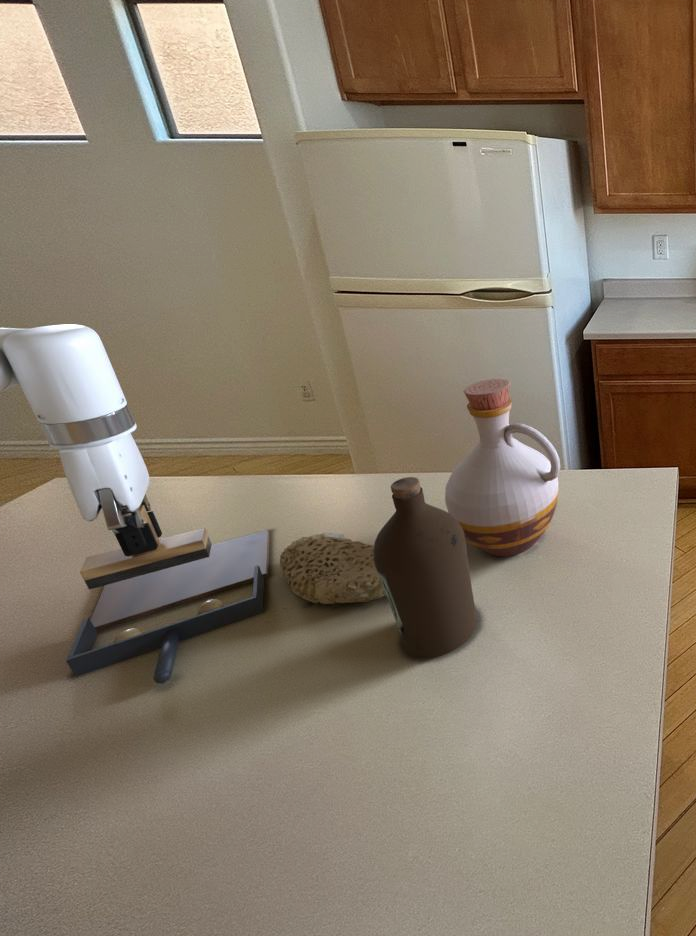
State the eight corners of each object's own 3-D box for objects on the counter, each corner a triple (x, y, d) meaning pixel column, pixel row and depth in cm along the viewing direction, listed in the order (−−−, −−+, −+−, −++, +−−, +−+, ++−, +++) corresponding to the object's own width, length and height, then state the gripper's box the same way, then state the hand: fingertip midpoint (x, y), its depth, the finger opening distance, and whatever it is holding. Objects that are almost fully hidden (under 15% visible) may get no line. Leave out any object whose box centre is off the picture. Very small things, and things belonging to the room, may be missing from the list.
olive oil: (481, 597, 85) (452, 455, 75) (483, 649, 76) (451, 496, 66) (403, 617, 81) (361, 471, 71) (396, 675, 72) (347, 516, 62)
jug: (589, 519, 103) (575, 370, 92) (545, 586, 87) (521, 415, 76) (493, 508, 107) (468, 361, 95) (434, 569, 90) (394, 402, 79)
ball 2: (189, 610, 77) (197, 604, 80) (200, 628, 78) (208, 621, 80) (214, 598, 78) (221, 592, 81) (225, 616, 79) (232, 609, 82)
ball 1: (102, 639, 72) (120, 634, 75) (113, 659, 72) (130, 654, 75) (129, 625, 73) (145, 621, 76) (139, 645, 73) (156, 640, 76)
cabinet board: (89, 636, 77) (85, 630, 76) (112, 579, 87) (109, 573, 87) (269, 579, 88) (266, 573, 87) (270, 534, 98) (268, 528, 98)
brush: (211, 544, 82) (191, 492, 78) (209, 557, 79) (188, 504, 76) (95, 574, 75) (67, 519, 72) (88, 589, 72) (59, 533, 69)
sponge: (277, 587, 88) (309, 631, 75) (271, 540, 87) (302, 576, 74) (370, 560, 98) (413, 595, 84) (366, 518, 97) (409, 546, 83)
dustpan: (94, 636, 77) (83, 618, 76) (265, 581, 87) (258, 564, 86) (56, 732, 64) (43, 713, 63) (261, 655, 74) (254, 636, 73)
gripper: (65, 409, 72) (119, 525, 80) (21, 459, 61) (89, 591, 68) (144, 397, 77) (189, 509, 84) (118, 443, 65) (172, 568, 72)
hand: (144, 544), depth 76 cm, fingers closed on brush, 2 cm apart
